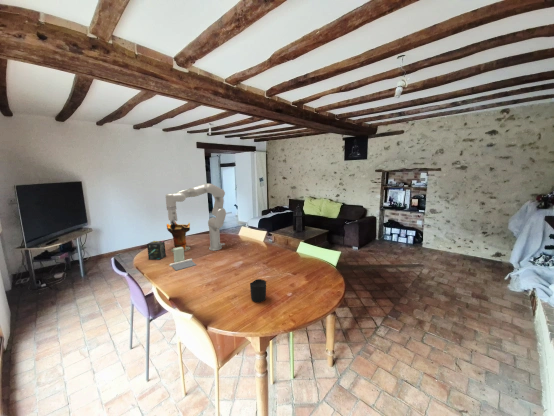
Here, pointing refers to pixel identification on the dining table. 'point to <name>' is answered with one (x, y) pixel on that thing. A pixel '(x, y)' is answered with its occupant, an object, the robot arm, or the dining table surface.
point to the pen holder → (258, 290)
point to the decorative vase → (179, 235)
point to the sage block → (178, 254)
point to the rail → (180, 262)
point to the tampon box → (156, 250)
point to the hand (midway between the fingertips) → (173, 228)
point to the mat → (183, 265)
